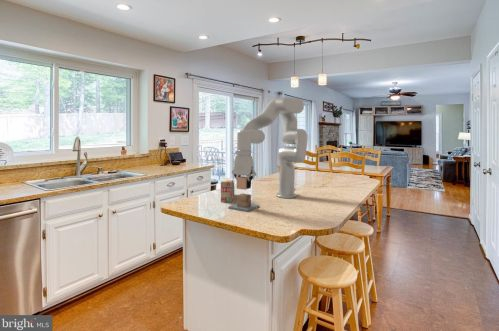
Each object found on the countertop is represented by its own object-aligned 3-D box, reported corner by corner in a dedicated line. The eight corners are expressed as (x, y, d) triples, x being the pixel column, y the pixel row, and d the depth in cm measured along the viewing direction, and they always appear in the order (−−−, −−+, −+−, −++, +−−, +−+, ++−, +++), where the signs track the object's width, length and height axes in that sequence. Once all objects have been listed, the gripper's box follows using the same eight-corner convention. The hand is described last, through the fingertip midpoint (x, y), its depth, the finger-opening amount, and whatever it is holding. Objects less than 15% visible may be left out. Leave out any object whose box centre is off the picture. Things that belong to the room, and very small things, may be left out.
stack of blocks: (224, 194, 201) (224, 175, 199) (234, 194, 201) (234, 175, 199) (220, 202, 180) (220, 181, 178) (231, 202, 179) (231, 181, 178)
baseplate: (240, 203, 176) (240, 202, 176) (259, 206, 169) (259, 205, 169) (228, 208, 165) (228, 206, 165) (247, 211, 159) (247, 209, 159)
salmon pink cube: (242, 187, 170) (242, 176, 169) (250, 188, 167) (250, 177, 166) (236, 188, 165) (236, 177, 164) (245, 189, 162) (245, 178, 162)
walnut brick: (242, 204, 171) (242, 193, 170) (250, 205, 168) (251, 194, 167) (236, 206, 166) (236, 195, 166) (245, 207, 164) (245, 196, 163)
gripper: (226, 153, 165) (226, 186, 167) (254, 154, 156) (253, 190, 158) (234, 152, 172) (234, 184, 174) (261, 153, 163) (261, 188, 165)
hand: (243, 186), depth 166 cm, fingers closed on salmon pink cube, 5 cm apart
